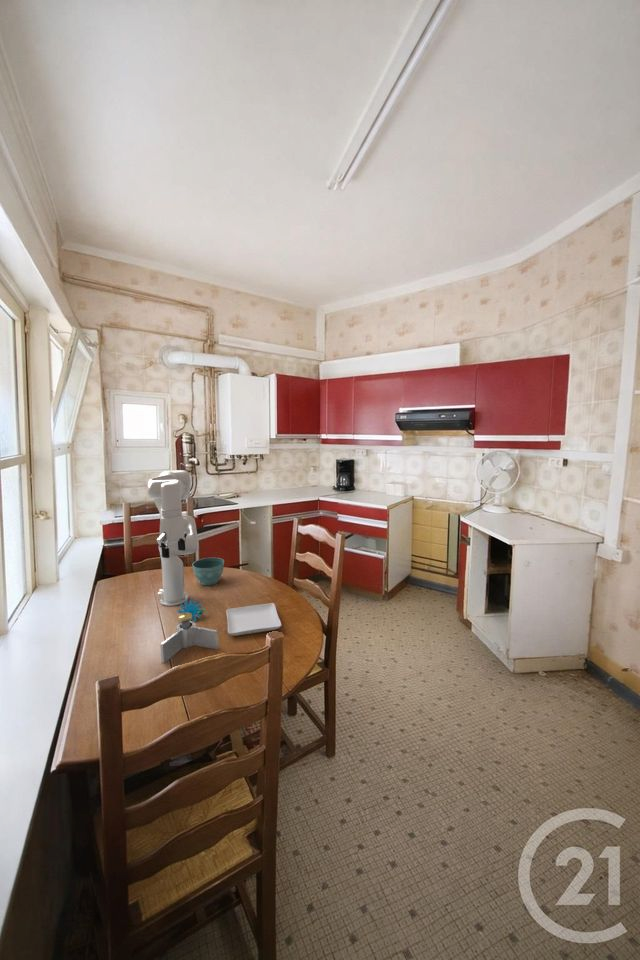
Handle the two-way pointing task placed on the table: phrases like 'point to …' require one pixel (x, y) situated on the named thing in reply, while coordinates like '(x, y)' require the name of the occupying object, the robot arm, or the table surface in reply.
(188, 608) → the blue spiky piece
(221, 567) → the teal bowl
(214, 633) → the hinge
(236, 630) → the salad plate
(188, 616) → the pin
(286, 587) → the table surface
